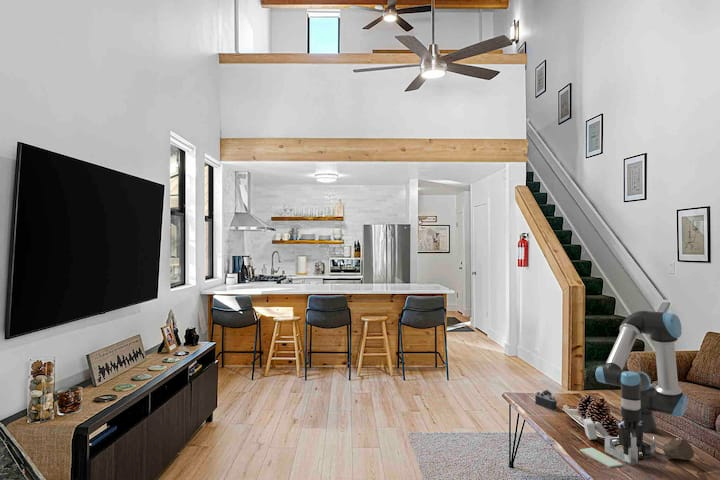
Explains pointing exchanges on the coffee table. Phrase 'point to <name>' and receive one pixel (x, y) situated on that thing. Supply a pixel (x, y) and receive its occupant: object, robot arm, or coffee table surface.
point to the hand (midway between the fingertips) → (631, 461)
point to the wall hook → (593, 429)
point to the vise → (643, 448)
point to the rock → (678, 449)
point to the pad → (601, 457)
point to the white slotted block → (619, 453)
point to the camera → (546, 400)
